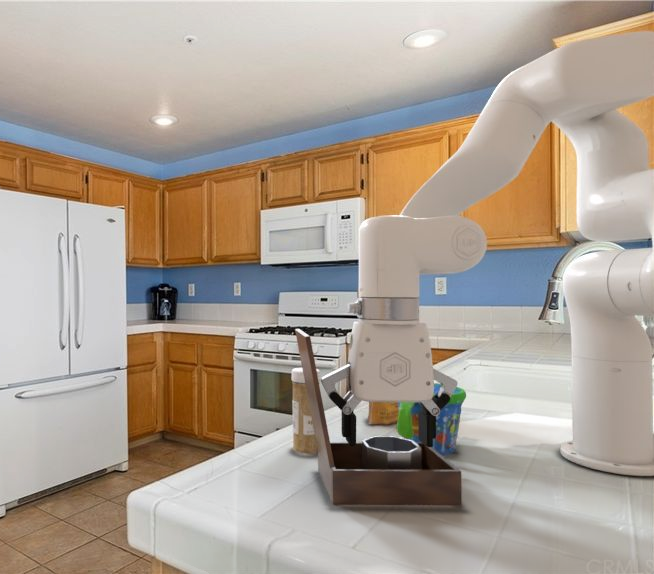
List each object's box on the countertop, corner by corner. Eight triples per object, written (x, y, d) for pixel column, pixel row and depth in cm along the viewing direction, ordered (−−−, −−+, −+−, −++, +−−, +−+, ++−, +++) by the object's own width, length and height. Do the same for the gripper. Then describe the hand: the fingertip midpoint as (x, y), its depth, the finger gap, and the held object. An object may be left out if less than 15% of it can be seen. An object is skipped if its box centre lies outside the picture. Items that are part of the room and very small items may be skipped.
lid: (299, 328, 70) (294, 329, 70) (310, 336, 59) (305, 336, 59) (319, 439, 70) (315, 439, 70) (334, 467, 59) (329, 468, 59)
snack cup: (429, 434, 88) (428, 377, 88) (488, 449, 79) (487, 387, 80) (371, 450, 80) (370, 388, 80) (429, 470, 71) (429, 399, 71)
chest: (426, 474, 69) (426, 442, 69) (462, 510, 58) (461, 471, 58) (318, 474, 70) (317, 441, 70) (332, 509, 59) (332, 470, 59)
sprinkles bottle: (317, 458, 76) (317, 371, 76) (289, 455, 78) (288, 370, 78) (323, 449, 81) (322, 367, 81) (295, 446, 82) (295, 366, 82)
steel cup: (408, 476, 67) (408, 435, 67) (427, 497, 60) (427, 452, 60) (358, 475, 68) (358, 435, 68) (371, 496, 61) (371, 452, 61)
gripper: (326, 312, 61) (326, 451, 60) (469, 313, 60) (469, 454, 60) (317, 310, 68) (316, 434, 68) (443, 311, 67) (443, 436, 67)
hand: (388, 443), depth 64 cm, fingers open, 9 cm apart
